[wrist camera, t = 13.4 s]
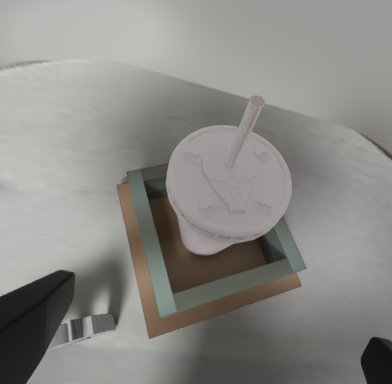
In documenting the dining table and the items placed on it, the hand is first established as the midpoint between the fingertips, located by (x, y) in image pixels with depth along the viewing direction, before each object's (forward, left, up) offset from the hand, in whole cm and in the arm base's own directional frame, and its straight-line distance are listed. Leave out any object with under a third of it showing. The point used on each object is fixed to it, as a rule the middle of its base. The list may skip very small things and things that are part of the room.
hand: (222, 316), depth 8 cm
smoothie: (+6, -3, -13) cm, 14 cm away
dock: (+6, -3, -14) cm, 15 cm away
